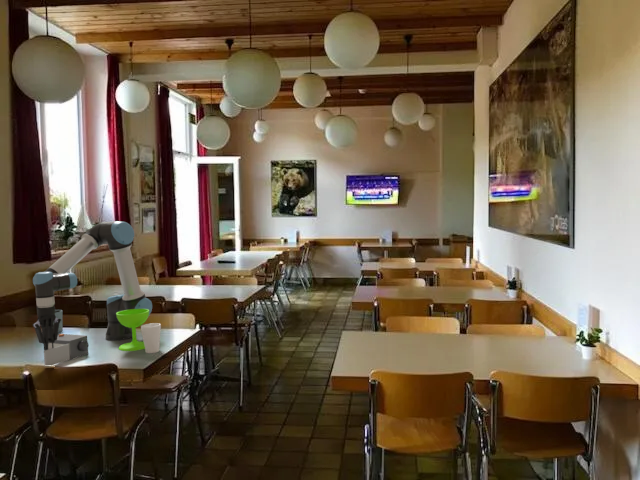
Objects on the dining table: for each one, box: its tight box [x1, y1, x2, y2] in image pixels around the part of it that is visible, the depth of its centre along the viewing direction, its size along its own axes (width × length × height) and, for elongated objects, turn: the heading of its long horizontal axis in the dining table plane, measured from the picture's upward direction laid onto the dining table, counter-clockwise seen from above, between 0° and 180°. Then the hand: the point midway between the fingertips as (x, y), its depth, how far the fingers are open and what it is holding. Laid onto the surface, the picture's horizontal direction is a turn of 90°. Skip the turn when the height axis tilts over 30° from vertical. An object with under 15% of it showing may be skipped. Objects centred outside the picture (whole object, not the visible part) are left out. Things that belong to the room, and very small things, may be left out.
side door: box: [43, 343, 71, 366], centre depth 268 cm, size 14×1×8 cm, turn 153°
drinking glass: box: [53, 309, 64, 333], centre depth 340 cm, size 10×10×12 cm
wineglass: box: [116, 309, 150, 352], centre depth 295 cm, size 16×16×18 cm
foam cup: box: [140, 322, 162, 354], centre depth 284 cm, size 10×9×13 cm
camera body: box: [53, 333, 89, 361], centre depth 283 cm, size 18×11×10 cm, turn 67°
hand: (49, 357), depth 266 cm, fingers closed
